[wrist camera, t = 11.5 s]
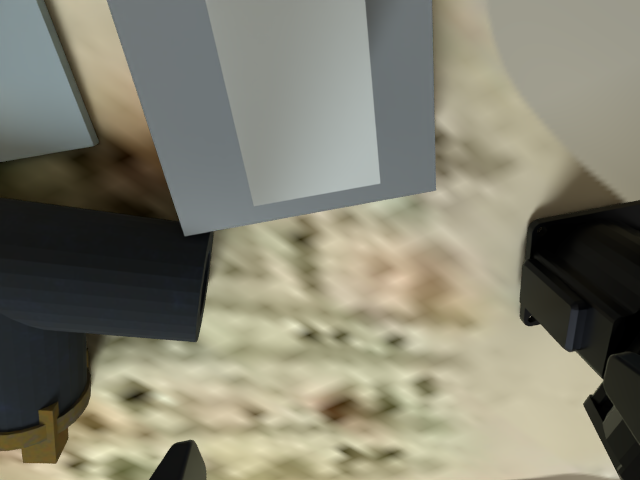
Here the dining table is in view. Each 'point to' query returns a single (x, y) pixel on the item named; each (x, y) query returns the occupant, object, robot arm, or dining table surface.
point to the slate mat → (37, 87)
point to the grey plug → (299, 94)
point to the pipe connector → (83, 307)
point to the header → (218, 125)
